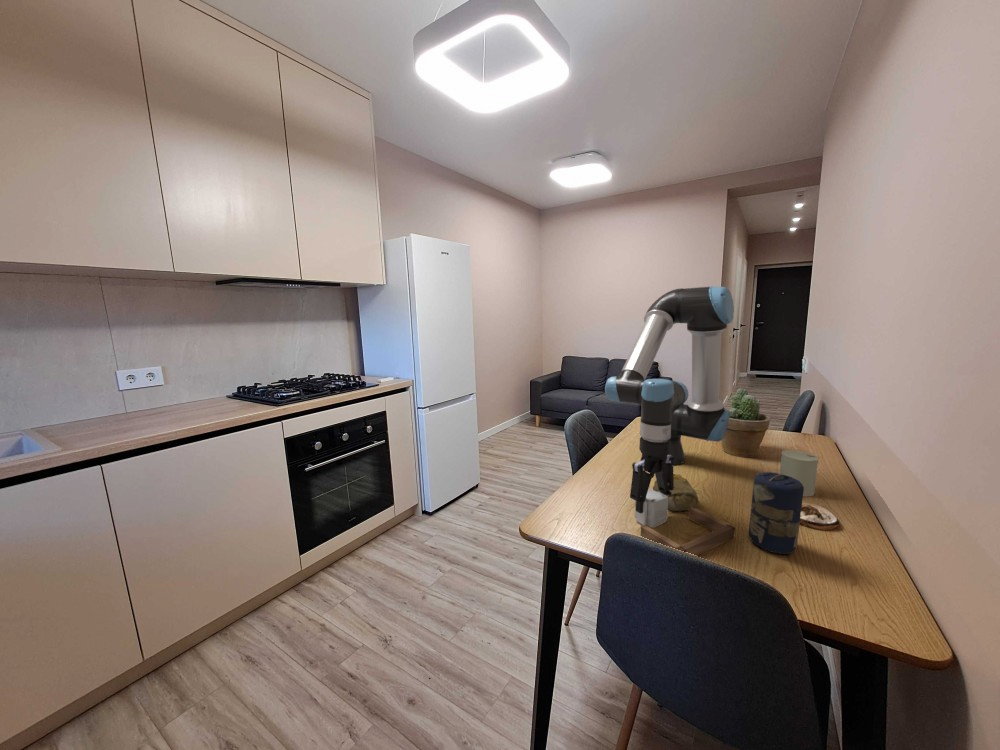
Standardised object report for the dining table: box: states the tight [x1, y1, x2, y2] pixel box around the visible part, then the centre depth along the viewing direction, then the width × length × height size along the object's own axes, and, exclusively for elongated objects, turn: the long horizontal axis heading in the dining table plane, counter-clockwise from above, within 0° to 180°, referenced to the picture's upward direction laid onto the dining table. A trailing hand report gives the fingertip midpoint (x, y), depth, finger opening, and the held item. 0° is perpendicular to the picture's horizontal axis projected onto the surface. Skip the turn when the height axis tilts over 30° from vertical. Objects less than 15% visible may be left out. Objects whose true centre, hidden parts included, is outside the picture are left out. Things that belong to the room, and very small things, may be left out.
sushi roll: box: [799, 502, 840, 531], centre depth 103 cm, size 15×15×4 cm
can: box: [779, 449, 819, 498], centre depth 118 cm, size 9×9×12 cm
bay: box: [640, 507, 736, 556], centre depth 94 cm, size 12×20×3 cm, turn 118°
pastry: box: [652, 473, 699, 512], centre depth 113 cm, size 14×12×8 cm
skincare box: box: [634, 488, 669, 529], centre depth 102 cm, size 6×6×7 cm
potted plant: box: [720, 388, 772, 458], centre depth 150 cm, size 18×19×25 cm
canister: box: [748, 471, 804, 555], centre depth 90 cm, size 10×10×18 cm
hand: (650, 519), depth 103 cm, fingers open, 7 cm apart
